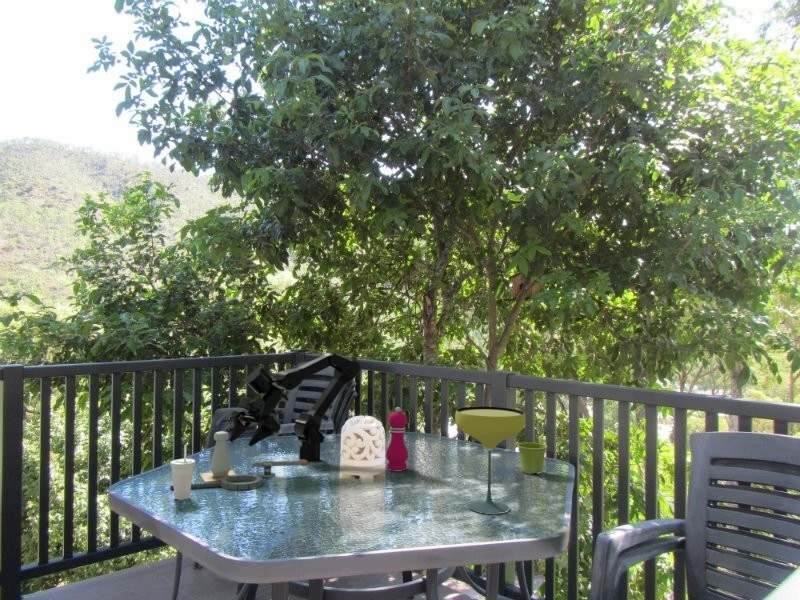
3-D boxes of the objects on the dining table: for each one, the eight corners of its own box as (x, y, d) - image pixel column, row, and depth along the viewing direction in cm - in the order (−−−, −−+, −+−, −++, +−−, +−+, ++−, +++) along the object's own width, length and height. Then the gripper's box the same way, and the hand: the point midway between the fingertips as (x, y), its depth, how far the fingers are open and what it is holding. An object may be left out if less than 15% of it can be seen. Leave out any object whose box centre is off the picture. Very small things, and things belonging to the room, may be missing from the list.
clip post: (274, 473, 193) (274, 464, 193) (276, 477, 188) (276, 468, 188) (258, 474, 192) (258, 465, 192) (259, 478, 187) (260, 469, 187)
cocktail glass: (539, 513, 158) (540, 414, 159) (482, 523, 149) (483, 418, 150) (494, 494, 174) (495, 404, 175) (440, 503, 165) (442, 408, 166)
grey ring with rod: (259, 478, 187) (260, 473, 187) (263, 488, 176) (263, 482, 176) (171, 483, 179) (171, 478, 179) (169, 494, 169) (169, 488, 169)
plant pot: (539, 477, 194) (539, 449, 194) (511, 472, 199) (512, 445, 200) (551, 472, 201) (552, 445, 201) (524, 467, 207) (525, 441, 207)
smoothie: (189, 501, 162) (191, 447, 163) (165, 501, 162) (166, 447, 163) (198, 494, 169) (199, 442, 169) (174, 494, 169) (176, 442, 169)
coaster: (232, 472, 193) (232, 470, 193) (240, 480, 185) (240, 478, 185) (199, 475, 189) (199, 473, 189) (205, 483, 180) (205, 481, 180)
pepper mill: (409, 467, 205) (410, 405, 205) (407, 472, 197) (408, 408, 198) (387, 466, 205) (388, 405, 206) (384, 471, 198) (385, 408, 199)
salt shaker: (221, 479, 183) (222, 434, 183) (206, 476, 185) (207, 432, 186) (234, 474, 188) (235, 431, 189) (219, 472, 191) (220, 429, 191)
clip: (306, 463, 194) (306, 458, 194) (307, 466, 191) (307, 461, 191) (251, 465, 191) (251, 460, 191) (251, 468, 187) (251, 463, 187)
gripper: (235, 385, 203) (206, 423, 194) (274, 389, 192) (244, 431, 183) (254, 406, 209) (226, 445, 200) (292, 412, 198) (265, 453, 189)
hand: (239, 443), depth 193 cm, fingers open, 9 cm apart
